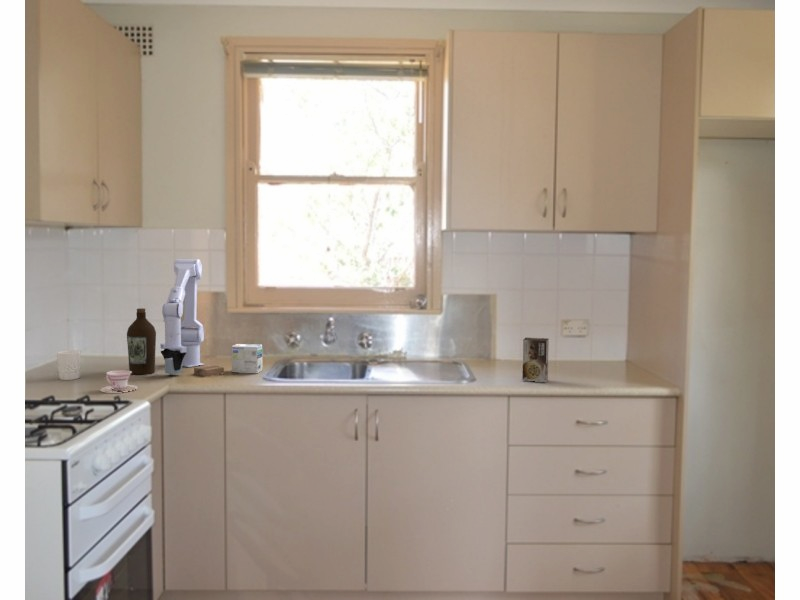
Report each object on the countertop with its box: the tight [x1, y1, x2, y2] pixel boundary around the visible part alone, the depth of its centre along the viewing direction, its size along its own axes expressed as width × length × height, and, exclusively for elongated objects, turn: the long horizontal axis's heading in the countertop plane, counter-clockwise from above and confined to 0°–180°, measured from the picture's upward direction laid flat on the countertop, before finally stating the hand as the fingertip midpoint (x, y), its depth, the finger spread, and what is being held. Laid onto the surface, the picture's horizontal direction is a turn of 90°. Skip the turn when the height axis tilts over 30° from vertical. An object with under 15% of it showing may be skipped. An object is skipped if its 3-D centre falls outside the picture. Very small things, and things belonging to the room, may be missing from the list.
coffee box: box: [521, 337, 549, 384], centre depth 266 cm, size 9×6×16 cm
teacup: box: [99, 369, 139, 394], centre depth 242 cm, size 12×12×6 cm
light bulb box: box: [231, 343, 263, 374], centre depth 277 cm, size 11×7×11 cm, turn 84°
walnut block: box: [193, 364, 225, 377], centre depth 272 cm, size 8×8×3 cm
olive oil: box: [126, 307, 157, 376], centre depth 272 cm, size 11×11×25 cm
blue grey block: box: [164, 358, 183, 375], centre depth 268 cm, size 4×4×6 cm
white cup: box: [56, 349, 81, 381], centre depth 260 cm, size 8×8×10 cm
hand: (173, 369), depth 268 cm, fingers closed on blue grey block, 4 cm apart
